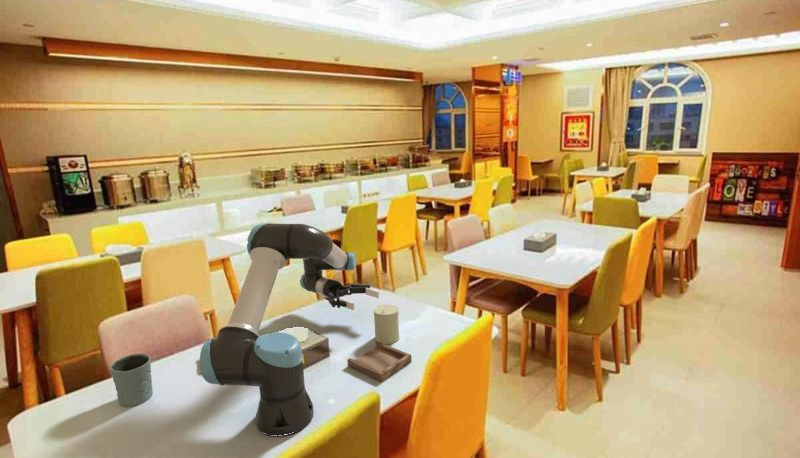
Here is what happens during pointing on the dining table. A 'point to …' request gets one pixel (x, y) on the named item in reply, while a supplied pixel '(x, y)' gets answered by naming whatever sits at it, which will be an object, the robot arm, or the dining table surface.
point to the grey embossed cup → (132, 379)
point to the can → (386, 324)
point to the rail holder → (380, 362)
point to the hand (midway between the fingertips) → (366, 300)
